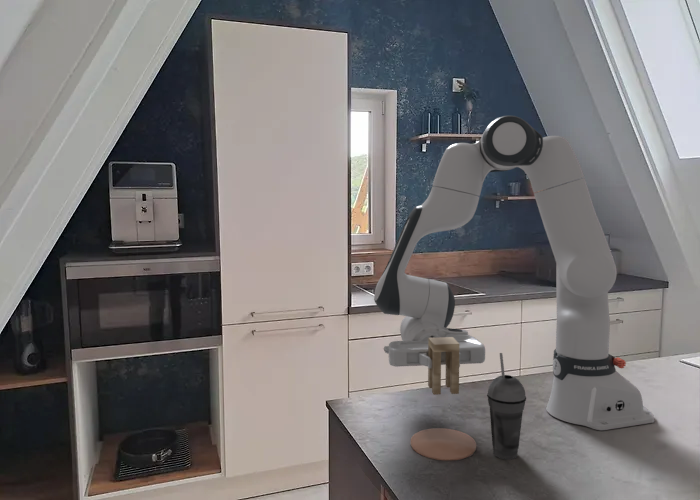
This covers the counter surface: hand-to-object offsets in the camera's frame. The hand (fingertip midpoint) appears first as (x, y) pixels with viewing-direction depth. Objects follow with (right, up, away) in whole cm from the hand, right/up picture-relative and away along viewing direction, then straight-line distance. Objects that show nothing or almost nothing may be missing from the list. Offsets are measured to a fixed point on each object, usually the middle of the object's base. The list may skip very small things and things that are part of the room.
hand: (444, 364), depth 108 cm
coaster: (0, -17, +2) cm, 17 cm away
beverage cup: (+12, -17, -2) cm, 21 cm away
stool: (0, -5, +1) cm, 6 cm away
